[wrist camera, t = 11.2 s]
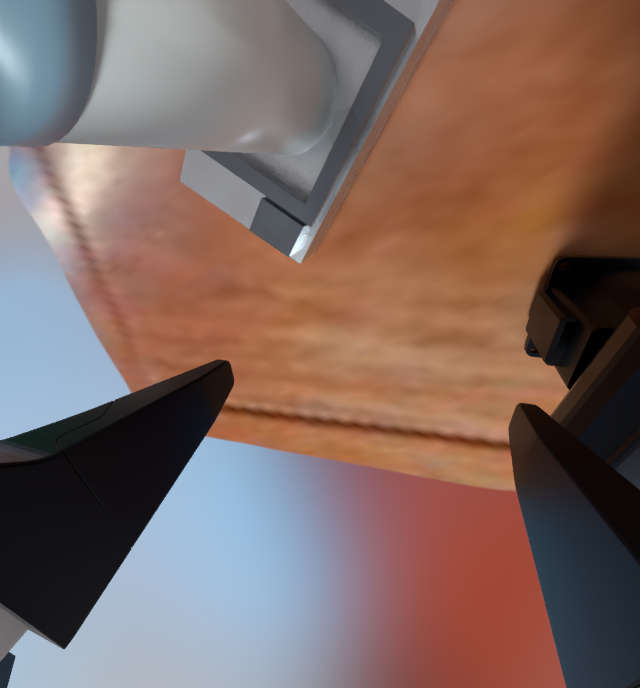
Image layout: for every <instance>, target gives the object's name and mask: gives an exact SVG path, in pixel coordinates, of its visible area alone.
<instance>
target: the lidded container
mask: <svg viewBox="0 0 640 688" xmlns="http://www.w3.org/2000/svg"><path fill="white" fill-rule="evenodd" d="M336 94H337V85H336V75H335V70H334V65H333V62H332V59H331V56H330V54H329V52H328V50H327V48H326V46H325V45H324V43H323V42H322V40H321V39H320V38H319V37H318V36H317V34H316V33H315V32H314V31H313V30H312V29H311V28H310V27H309V26H308V25H307V23H306V22H305V21H304V20H303V19H302V18H301V17H300V16H299V15H298V14H297V12H296V11H295V10H294V9H293V8H292V7H291V6H290V5H289V4H288V3H287V1H286V0H0V146H13V147H42V146H48V145H50V144H52V143H55V142H58V143H76V144H94V145H112V146H131V147H149V148H167V149H185V150H203V151H221V152H239V153H257V154H275V155H297V154H300V153H303V152H305V151H307V150H309V149H310V148H312V147H313V146H314V145H315V144H316V143H318V141H319V140H320V139H321V138H322V137H323V135H324V134H325V132H326V130H327V128H328V126H329V124H330V122H331V119H332V117H333V113H334V109H335V103H336Z"/></svg>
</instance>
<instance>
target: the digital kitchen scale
mask: <svg viewBox="0 0 640 688" xmlns="http://www.w3.org/2000/svg"><path fill="white" fill-rule="evenodd" d="M286 1H287V3H288V4H289V5H290V6H291V7H292V8H293V9H294V10H295V11H296V12H297V14H298V15H299V16H300V17H301V18H302V19H303V20H304V21H305V22H306V23H307V25H308V26H309V27H310V28H311V29H312V30H313V31H314V32H315V33H316V34H317V36H318V37H319V38H320V39H321V40H322V42H323V43H324V45H325V46H326V48H327V50H328V52H329V54H330V56H331V59H332V62H333V65H334V70H335V75H336V85H337V94H336V103H335V109H334V113H333V117H332V119H331V122H330V124H329V126H328V128H327V130H326V132H325V134H324V135H323V137H322V138H321V139H320V140H319V141H318V143H316V144H315V145H314V146H313V147H312V148H310V149H309V150H307V151H305V152H303V153H300V154H297V155H275V154H257V153H239V152H221V151H203V150H186V154H185V158H184V163H183V168H182V173H181V178H180V181H181V182H182V183H183V184H185V185H186V186H188V187H189V188H191V189H192V190H194V191H195V192H197V193H198V194H199V195H201V196H202V197H204V198H205V199H207V200H208V201H210V202H211V203H213V204H214V205H215V206H217V207H218V208H220V209H221V210H223V211H224V212H226V213H227V214H228V215H230V216H231V217H233V218H234V219H236V220H237V221H239V222H240V223H242V224H243V225H244V226H246V227H247V228H249V230H250V231H251V232H253V233H254V234H256V235H257V236H259V237H260V238H261V239H263V240H264V241H266V242H267V243H269V244H270V245H272V246H273V247H274V248H276V249H277V250H279V251H280V252H282V253H283V254H285V255H286V256H288V257H291V258H292V259H294V260H295V261H297V262H298V263H300V264H301V263H302V262H303V261H305V260H306V259H307V258H309V257H310V256H311V255H313V254H314V253H315V252H316V250H317V249H318V247H319V245H320V243H321V241H322V239H323V238H324V236H325V234H326V232H327V230H328V229H329V227H330V225H331V223H332V221H333V219H334V218H335V216H336V214H337V212H338V210H339V209H340V207H341V205H342V203H343V201H344V199H345V198H346V196H347V194H348V192H349V190H350V189H351V187H352V185H353V183H354V181H355V179H356V178H357V176H358V174H359V172H360V170H361V169H362V167H363V165H364V163H365V161H366V159H367V158H368V156H369V154H370V152H371V150H372V149H373V147H374V145H375V143H376V141H377V139H378V138H379V136H380V134H381V132H382V130H383V129H384V127H385V125H386V123H387V121H388V119H389V118H390V116H391V114H392V112H393V110H394V109H395V107H396V105H397V103H398V101H399V99H400V98H401V96H402V94H403V92H404V90H405V89H406V87H407V85H408V83H409V81H410V79H411V78H412V76H413V74H414V72H415V70H416V69H417V67H418V65H419V63H420V61H421V59H422V58H423V56H424V54H425V52H426V50H427V49H428V47H429V45H430V43H431V41H432V39H433V38H434V36H435V34H436V32H437V30H438V29H439V27H440V25H441V23H442V21H443V19H444V18H445V16H446V14H447V12H448V10H449V9H450V7H451V5H452V3H453V1H454V0H286Z"/></svg>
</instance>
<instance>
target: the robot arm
mask: <svg viewBox="0 0 640 688" xmlns="http://www.w3.org/2000/svg"><path fill="white" fill-rule="evenodd" d="M563 262H568V265H567V267H565V268H563V269H560V265H561V264H562V263H563ZM526 331H527V332H528V334H529V335H528V338H527V341H526V344H525V348H524V349H525V351H526V353H527V354H528V355H529V356H532V357H541V358H542V359H543V361H544V362H545V363H546V364H547V365H550V366H555V368H556V370H557V371H558V373H559V375H560V376H561V378H562V380H563V381H564V383H565V385H566V386H567V388H568V389H569V392H568V393H567V394H566V396H565V397H564V398H563V400H562V401H561V402H560V404H559V405H558V406H557V408H556V409H555V410H554V412H553V413H552V414H551V416H549V415H548V414H547V413H546V412H544V411H543V410H542V409H541V408H539V407H538V406H536V405H533V404H526V403H519V404H518V405H517V406H516V408H515V411H514V413H513V416H512V419H511V422H510V424H509V440H510V448H511V456H512V465H513V473H514V480H515V486H516V491H517V495H518V499H519V503H520V507H521V511H522V515H523V518H524V523H525V526H526V531H527V534H528V538H529V542H530V546H531V550H532V554H533V558H534V562H535V566H536V570H537V574H538V578H539V582H540V586H541V590H542V593H543V597H544V601H545V605H546V609H547V613H548V617H549V621H550V625H551V629H552V633H553V637H554V641H555V645H556V649H557V653H558V657H559V660H560V664H561V668H562V672H563V676H564V680H565V684H566V688H640V257H618V256H568V255H566V256H561V257H558V258H557V259H556V260H555V261H554V262H553V264H552V267H551V270H550V273H549V276H548V279H547V282H546V285H545V287H544V290H542V291H540V292H539V293H537V296H536V299H535V302H534V305H533V308H532V311H531V314H530V317H529V320H528V323H527V326H526ZM533 347H536V348H537V349H536V350H531V348H533ZM233 385H234V377H233V373H232V368H231V365H230V363H229V361H226V360H215V361H212V362H210V363H207V364H205V365H202V366H200V367H197V368H195V369H192V370H190V371H187V372H185V373H182V374H180V375H177V376H174V377H172V378H169V379H167V380H164V381H162V382H159V383H157V384H154V385H152V386H149V387H147V388H144V389H142V390H139V391H136V392H134V393H131V394H129V395H126V396H124V397H121V398H119V399H116V400H115V401H111V402H108V403H106V404H103V405H101V406H98V407H96V408H93V409H91V410H88V411H85V412H83V413H80V414H77V415H74V416H71V417H69V418H66V419H63V420H60V421H57V422H55V423H51V424H49V425H46V426H43V427H40V428H37V429H34V430H31V431H29V432H26V433H22V434H19V435H17V436H14V437H10V438H7V439H4V440H0V688H7V686H8V682H9V679H10V675H11V671H12V667H13V664H14V660H15V655H13V654H11V653H10V652H9V651H10V650H11V649H12V647H13V646H14V645H15V644H16V643H17V642H18V640H19V639H20V638H21V637H22V636H23V634H24V633H25V632H26V631H27V630H30V631H32V632H34V633H35V634H37V635H39V636H41V637H43V638H44V639H46V640H48V641H50V642H51V643H53V644H55V645H57V646H58V647H60V648H62V649H65V648H66V647H67V646H68V644H69V643H70V642H71V640H72V639H73V637H74V636H75V634H76V633H77V631H78V630H79V628H80V627H81V625H82V624H83V622H84V621H85V619H86V618H87V616H88V615H89V613H90V611H91V610H92V608H93V607H94V605H95V604H96V602H97V601H98V599H99V598H100V596H101V595H102V593H103V592H104V590H105V589H106V587H107V585H108V584H109V582H110V581H111V579H112V578H113V576H114V575H115V573H116V572H117V570H118V569H119V567H120V565H121V564H122V563H123V561H124V559H125V558H126V556H127V555H128V553H129V552H130V550H131V547H133V545H134V544H135V542H136V541H137V539H138V538H139V536H140V535H141V533H142V532H143V530H144V529H145V527H146V526H147V524H148V523H149V521H150V520H151V518H152V517H153V515H154V513H155V512H156V510H157V509H158V507H159V506H160V504H161V503H162V501H163V500H164V498H165V497H166V495H167V494H168V492H169V490H170V489H171V487H172V486H173V485H174V483H175V481H176V480H177V478H178V477H179V475H180V474H181V472H182V471H183V469H184V468H185V466H186V465H187V463H188V462H189V460H190V459H191V457H192V455H193V454H194V452H195V451H196V449H197V448H198V446H199V445H200V443H201V441H202V440H203V439H204V437H205V436H206V434H207V433H208V431H209V430H210V428H211V426H212V425H213V423H214V422H215V420H216V418H217V416H218V414H219V413H220V411H221V409H222V407H223V405H224V403H225V401H226V399H227V397H228V395H229V393H230V391H231V389H232V387H233Z"/></svg>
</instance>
